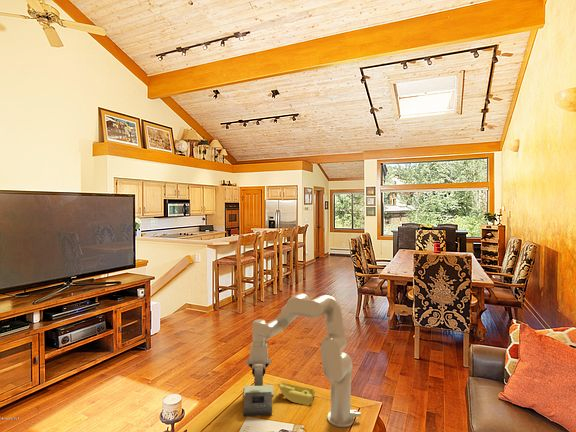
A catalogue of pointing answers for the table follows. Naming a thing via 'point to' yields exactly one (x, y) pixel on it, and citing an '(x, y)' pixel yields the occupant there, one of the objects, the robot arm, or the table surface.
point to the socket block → (257, 404)
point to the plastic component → (297, 393)
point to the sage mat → (258, 389)
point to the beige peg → (258, 375)
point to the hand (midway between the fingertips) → (258, 374)
